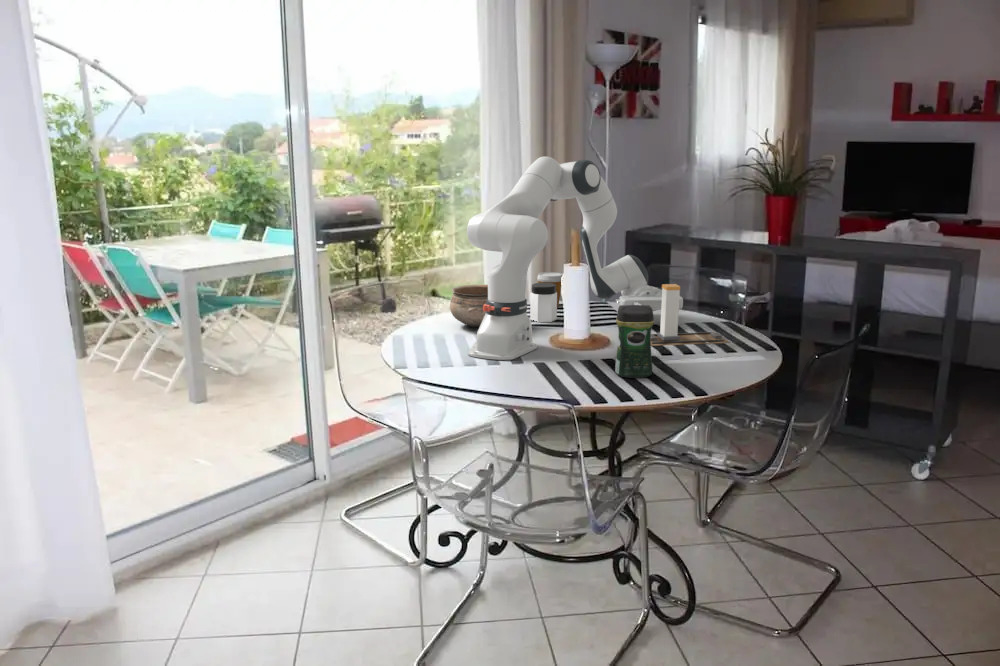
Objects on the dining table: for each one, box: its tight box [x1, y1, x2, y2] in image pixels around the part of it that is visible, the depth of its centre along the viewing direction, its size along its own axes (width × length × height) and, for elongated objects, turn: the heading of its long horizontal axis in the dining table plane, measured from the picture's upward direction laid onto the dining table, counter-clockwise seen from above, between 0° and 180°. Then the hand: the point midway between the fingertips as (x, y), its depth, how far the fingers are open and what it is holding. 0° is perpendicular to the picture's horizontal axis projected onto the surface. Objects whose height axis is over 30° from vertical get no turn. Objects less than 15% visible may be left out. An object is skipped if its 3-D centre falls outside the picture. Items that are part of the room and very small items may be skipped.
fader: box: [656, 283, 681, 341], centre depth 240 cm, size 5×6×16 cm
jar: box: [529, 282, 558, 323], centre depth 270 cm, size 9×8×12 cm
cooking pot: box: [449, 284, 488, 330], centre depth 262 cm, size 25×19×12 cm
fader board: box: [651, 331, 732, 347], centre depth 242 cm, size 26×13×2 cm, turn 97°
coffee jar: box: [614, 305, 655, 379], centre depth 209 cm, size 10×8×19 cm
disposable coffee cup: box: [536, 271, 563, 308], centre depth 290 cm, size 10×10×12 cm
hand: (657, 307), depth 250 cm, fingers open, 8 cm apart
